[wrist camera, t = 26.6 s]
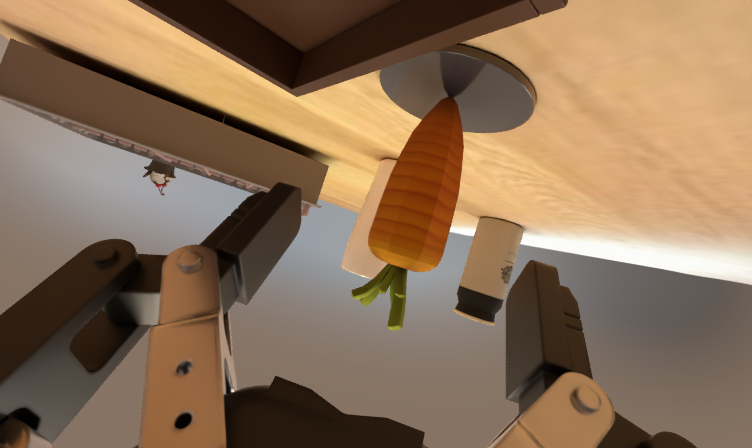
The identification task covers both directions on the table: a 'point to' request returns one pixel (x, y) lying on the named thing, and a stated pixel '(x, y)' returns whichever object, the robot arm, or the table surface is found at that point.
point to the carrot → (416, 207)
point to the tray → (336, 32)
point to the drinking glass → (367, 228)
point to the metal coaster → (462, 88)
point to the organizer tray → (150, 125)
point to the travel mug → (488, 269)
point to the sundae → (160, 173)
